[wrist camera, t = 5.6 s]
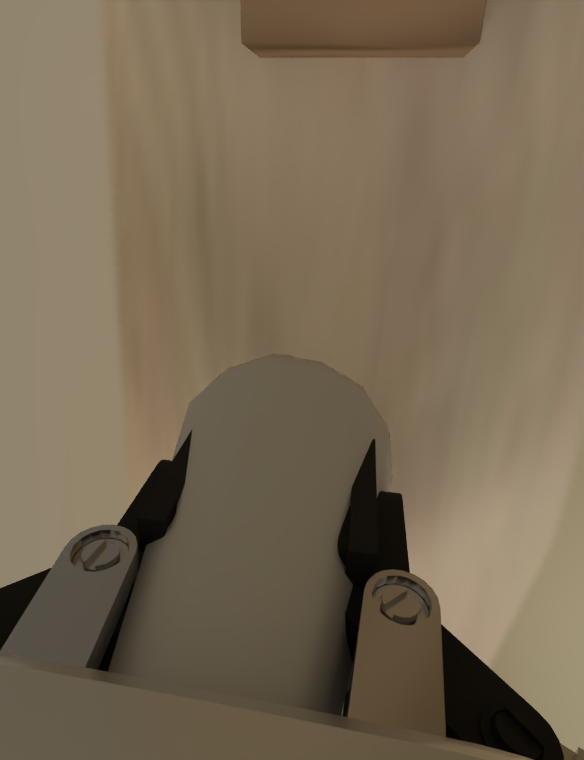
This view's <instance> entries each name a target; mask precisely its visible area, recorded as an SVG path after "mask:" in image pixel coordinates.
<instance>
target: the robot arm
mask: <svg viewBox="0 0 584 760" xmlns="http://www.w3.org/2000/svg"><path fill="white" fill-rule="evenodd" d="M191 436H192V430H191V432H190V433H189V435H188V437H187V438H186V440H185V441H184V443H183V445H182V446H181V448H180V449H179V451H178V453H177V454H176V456H175V457H174V459H173V461H170V460H161V461H160V462H159V463H158V464H157V466H156V467H155V469H154V470H153V472H152V473H151V475H150V476H149V478H148V479H147V481H146V482H145V484H144V485H143V487H142V488H141V490H140V491H139V493H138V495H137V496H136V498H135V499H134V501H133V502H132V504H131V505H130V507H129V508H128V510H127V511H126V513H125V514H124V516H123V517H122V519H121V520H120V522H119V523H118V525H100V526H97V527H92V528H89V529H87V530H85V531H83V532H80V533H79V534H78V535H76V536H75V537H74V538H72V539H71V540H70V541H69V543H68V544H67V545H66V546H65V547H64V549H63V551H62V552H61V554H60V556H59V557H58V559H57V560H56V562H55V564H54V565H53V567H52V568H50V569H47V570H45V571H43V572H40V573H38V574H35V575H32V576H30V577H27V578H25V579H22V580H20V581H17V582H15V583H12V584H10V585H7V586H5V587H2V588H0V760H584V750H583V749H581V748H578V749H577V751H576V752H573V751H572V750H570V749H568V748H567V747H565V746H564V745H562V744H560V742H559V740H558V738H557V736H556V734H555V733H554V731H553V729H552V728H551V726H550V725H549V724H548V722H547V721H546V720H545V719H544V718H543V717H542V716H541V715H540V714H539V713H538V712H537V711H536V710H535V709H534V708H533V707H532V706H531V705H530V704H529V703H527V702H526V701H525V700H524V699H523V698H522V697H521V696H520V695H518V693H516V692H515V691H514V690H513V689H512V688H511V687H510V686H509V685H508V684H506V683H505V682H504V681H503V680H502V679H501V678H500V677H499V676H498V675H497V674H495V673H494V672H493V671H492V670H491V669H490V668H489V667H488V666H487V665H486V664H484V663H483V662H482V661H481V660H480V659H479V658H478V657H477V656H476V655H475V654H473V653H472V652H471V651H470V650H469V649H468V648H467V647H466V646H465V645H463V644H462V643H461V642H460V641H459V640H458V639H457V638H456V637H455V636H454V635H452V634H451V633H450V632H449V631H448V630H447V629H446V628H445V627H444V626H443V625H441V612H440V605H439V600H438V597H437V596H436V594H435V592H434V591H433V589H432V588H431V587H430V586H429V585H428V584H427V583H426V582H425V581H424V580H422V579H421V578H419V577H417V576H416V575H414V574H411V573H410V572H409V561H408V551H407V541H406V531H405V521H404V511H403V500H402V495H401V494H399V493H392V492H385V491H380V492H379V494H378V497H377V484H376V445H375V439H373V440H372V442H371V444H370V446H369V449H368V451H367V453H366V456H365V458H364V460H363V462H362V465H361V467H360V469H359V472H358V474H357V476H356V478H355V481H354V483H353V485H352V490H351V505H350V507H349V509H348V512H347V514H346V517H345V519H344V521H343V524H342V527H341V530H340V534H339V537H338V544H337V548H338V554H339V557H340V559H341V561H342V562H343V564H344V565H345V566H346V568H345V574H346V576H347V577H348V578H349V580H350V581H351V583H352V584H353V587H352V591H351V595H350V598H349V602H348V606H347V609H346V612H345V620H346V637H347V642H348V646H349V650H350V655H351V659H352V668H351V672H350V677H349V682H348V686H347V691H346V696H345V701H344V705H343V710H342V715H341V716H339V715H334V714H329V713H323V712H318V711H313V710H308V709H303V708H298V707H293V706H287V705H282V704H277V703H272V702H267V701H261V700H256V699H251V698H246V697H240V696H235V695H230V694H224V693H219V692H214V691H209V690H203V689H198V688H193V687H187V686H182V685H177V684H171V683H166V682H161V681H155V680H150V679H145V678H139V677H134V676H129V675H123V674H118V673H112V672H108V669H109V666H110V663H111V659H112V656H113V653H114V650H115V646H116V643H117V640H118V636H119V633H120V630H121V627H122V623H123V620H124V617H125V613H126V610H127V607H128V604H129V600H130V597H131V594H132V590H133V587H134V584H135V581H136V577H137V574H138V571H139V567H140V564H141V561H142V558H143V554H144V551H145V548H146V545H147V544H149V543H152V542H154V541H156V540H158V539H161V538H162V537H164V536H165V534H166V532H167V529H168V527H169V525H170V524H171V522H172V521H173V519H174V517H175V514H176V510H177V503H178V500H179V498H180V495H181V493H182V490H183V487H184V485H185V480H186V473H187V465H188V458H189V450H190V443H191Z"/></svg>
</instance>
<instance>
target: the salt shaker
mask: <svg viewBox="0 0 584 760" xmlns="http://www.w3.org/2000/svg"><path fill="white" fill-rule="evenodd" d="M191 430H192V436H191V443H190V450H189V458H188V465H187V473H186V480H185V485H184V487H183V490H182V493H181V495H180V498H179V500H178V503H177V510H176V514H175V517H174V519H173V521H172V522H171V524H170V525H169V527H168V529H167V532H166V534H165V536H164V537H162V538H161V539H158V540H156V541H154V542H152V543H149V544H147V545H146V548H145V551H144V554H143V558H142V561H141V564H140V567H139V571H138V574H137V577H136V581H135V584H134V587H133V590H132V594H131V597H130V600H129V604H128V607H127V610H126V613H125V617H124V620H123V623H122V627H121V630H120V633H119V636H118V640H117V643H116V646H115V650H114V653H113V656H112V659H111V663H110V666H109V669H108V672H112V673H118V674H123V675H129V676H134V677H139V678H145V679H150V680H155V681H161V682H166V683H171V684H177V685H182V686H187V687H193V688H198V689H203V690H209V691H214V692H219V693H224V694H230V695H235V696H240V697H246V698H251V699H256V700H261V701H267V702H272V703H277V704H282V705H287V706H293V707H298V708H303V709H308V710H313V711H318V712H323V713H329V714H334V715H339V716H341V715H342V710H343V705H344V701H345V696H346V691H347V686H348V682H349V677H350V672H351V668H352V659H351V655H350V650H349V646H348V642H347V637H346V620H345V612H346V609H347V606H348V602H349V598H350V595H351V591H352V587H353V584H352V583H351V581H350V580H349V578H348V577H347V576H346V574H345V568H346V566H345V565H344V564H343V562H342V561H341V559H340V557H339V554H338V548H337V544H338V537H339V534H340V530H341V527H342V524H343V521H344V519H345V517H346V514H347V512H348V509H349V507H350V505H351V490H352V485H353V483H354V481H355V478H356V476H357V474H358V472H359V469H360V467H361V465H362V462H363V460H364V458H365V456H366V453H367V451H368V449H369V446H370V444H371V442H372V440H373V439H375V445H376V484H377V497H378V494H379V492H380V491H385V492H389V490H390V485H391V480H392V463H391V447H390V434H389V432H388V429H387V426H386V424H385V423H384V421H383V419H382V418H381V416H380V415H379V413H378V411H377V410H376V408H375V406H374V405H373V403H372V401H371V400H370V398H369V397H368V395H367V393H366V392H365V390H364V388H363V387H362V386H360V385H359V384H357V383H355V382H354V381H352V380H351V379H349V378H348V377H346V376H344V375H342V374H340V373H338V372H337V371H335V370H333V369H332V368H330V367H328V366H327V365H325V364H323V363H322V362H316V361H310V360H304V359H298V358H295V357H292V356H290V355H278V354H272V355H269V356H266V357H262V358H259V359H256V360H253V361H250V362H247V363H244V364H241V365H237V366H234V367H231V368H229V369H227V370H226V371H225V372H223V373H222V374H221V375H220V376H219V377H217V378H216V379H215V380H214V381H213V382H212V383H211V384H210V385H209V386H208V387H207V388H205V389H204V390H203V391H202V392H201V393H200V394H199V395H198V396H197V397H196V398H195V399H194V400H192V401H191V402H190V403H189V406H188V410H187V413H186V416H185V420H184V423H183V426H182V429H181V433H180V436H179V439H178V443H177V446H176V449H175V452H174V456H173V459H174V457H175V456H176V454H177V453H178V451H179V449H180V448H181V446H182V445H183V443H184V441H185V440H186V438H187V437H188V435H189V433H190V432H191ZM173 459H172V461H173Z"/></svg>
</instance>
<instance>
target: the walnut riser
mask: <svg viewBox="0 0 584 760" xmlns="http://www.w3.org/2000/svg"><path fill="white" fill-rule="evenodd" d="M485 6H486V0H241V31H242V44H244V45H245V46H246V47H247V48H249V49H250V50H251V51H252V52H254V53H255V54H256V55H258V56H259V57H464V56H465V55H466V54H467V53H468V52H469V51H470V50H471V49H473V48H474V47H475V46H476V45H477V44H478V43H479V42H480V38H481V32H482V25H483V19H484V12H485Z"/></svg>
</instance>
